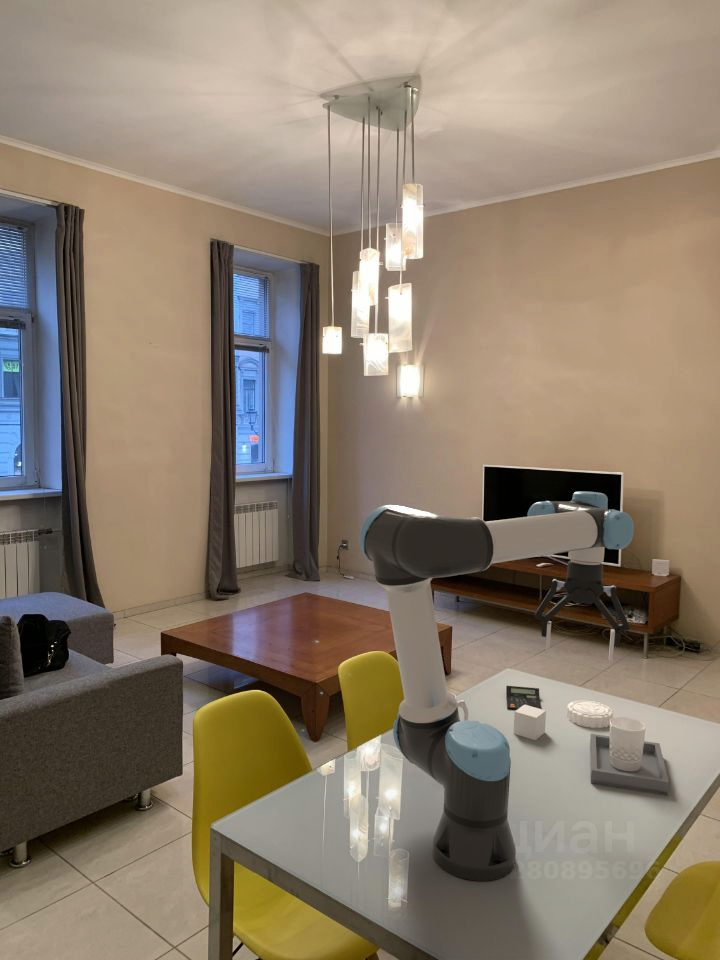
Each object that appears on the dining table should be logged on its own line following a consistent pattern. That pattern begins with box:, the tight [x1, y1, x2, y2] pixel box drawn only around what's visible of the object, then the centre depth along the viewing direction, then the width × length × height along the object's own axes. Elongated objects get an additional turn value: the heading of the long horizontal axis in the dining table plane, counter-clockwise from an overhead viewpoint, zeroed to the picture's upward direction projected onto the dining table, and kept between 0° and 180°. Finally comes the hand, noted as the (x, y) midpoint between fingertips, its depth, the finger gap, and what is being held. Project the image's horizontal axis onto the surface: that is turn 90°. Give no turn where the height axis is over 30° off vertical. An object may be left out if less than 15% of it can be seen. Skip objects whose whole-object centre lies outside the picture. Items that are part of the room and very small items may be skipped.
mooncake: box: [566, 699, 614, 729], centre depth 197 cm, size 12×12×4 cm
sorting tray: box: [589, 733, 670, 796], centre depth 169 cm, size 20×16×3 cm
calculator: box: [505, 685, 543, 711], centre depth 207 cm, size 9×12×3 cm
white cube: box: [513, 705, 547, 741], centre depth 187 cm, size 6×6×6 cm
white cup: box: [609, 716, 647, 772], centre depth 169 cm, size 8×8×10 cm
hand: (578, 655), depth 162 cm, fingers open, 13 cm apart
